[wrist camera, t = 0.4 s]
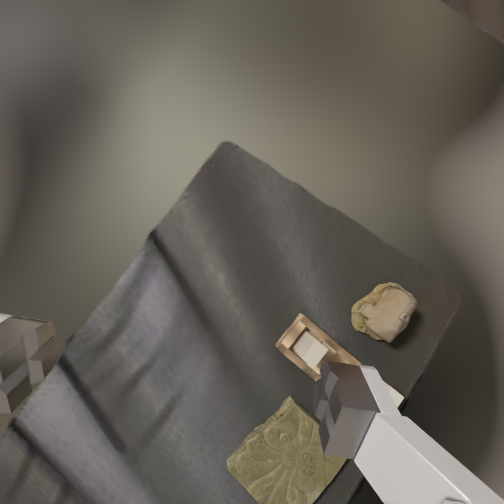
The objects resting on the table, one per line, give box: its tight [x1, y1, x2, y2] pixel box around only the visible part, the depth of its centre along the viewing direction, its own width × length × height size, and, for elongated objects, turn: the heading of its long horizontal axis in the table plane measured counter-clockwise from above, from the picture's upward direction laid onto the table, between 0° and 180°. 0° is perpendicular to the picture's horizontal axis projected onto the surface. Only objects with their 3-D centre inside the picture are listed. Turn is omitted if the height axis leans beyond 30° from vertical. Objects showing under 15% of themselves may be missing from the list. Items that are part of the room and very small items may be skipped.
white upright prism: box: [292, 331, 328, 369], centre depth 54 cm, size 4×3×8 cm, turn 140°
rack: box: [275, 313, 362, 381], centre depth 58 cm, size 9×17×4 cm, turn 50°
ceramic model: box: [351, 282, 417, 343], centre depth 57 cm, size 14×11×10 cm
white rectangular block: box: [383, 381, 404, 408], centre depth 56 cm, size 4×3×8 cm, turn 140°
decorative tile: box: [227, 396, 348, 504], centre depth 57 cm, size 19×20×4 cm
